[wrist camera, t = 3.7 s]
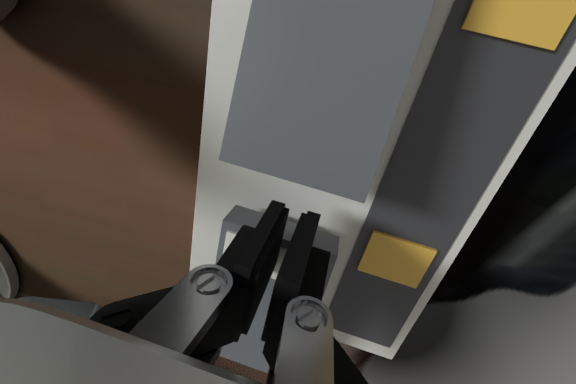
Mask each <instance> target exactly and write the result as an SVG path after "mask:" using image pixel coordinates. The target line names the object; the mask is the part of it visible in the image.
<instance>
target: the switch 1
mask: <svg viewBox="0 0 576 384" xmlns="http://www.w3.org/2000/svg"><path fill="white" fill-rule="evenodd" d="M434 1H435V0H252V3H251V8H250V13H249V18H248V22H247V27H246V32H245V37H244V41H243V46H242V51H241V56H240V60H239V65H238V70H237V75H236V79H235V84H234V89H233V94H232V99H231V103H230V108H229V113H228V118H227V122H226V127H225V132H224V137H223V141H222V146H221V151H220V156H219V160H220V161H223V162H227V163H230V164H233V165H237V166H240V167H243V168H247V169H250V170H254V171H257V172H260V173H264V174H267V175H270V176H274V177H277V178H280V179H284V180H287V181H290V182H294V183H297V184H301V185H304V186H307V187H311V188H314V189H317V190H321V191H324V192H327V193H331V194H334V195H338V196H341V197H344V198H348V199H351V200H354V201H358V202H361V203H364V204H365V201H366V198H367V195H368V192H369V189H370V186H371V183H372V181H373V178H374V175H375V172H376V169H377V166H378V163H379V160H380V157H381V154H382V152H383V149H384V146H385V143H386V140H387V137H388V134H389V131H390V128H391V126H392V123H393V120H394V117H395V114H396V111H397V108H398V105H399V102H400V100H401V97H402V94H403V91H404V88H405V85H406V82H407V79H408V76H409V74H410V71H411V68H412V65H413V62H414V59H415V56H416V53H417V50H418V48H419V45H420V42H421V39H422V36H423V33H424V30H425V27H426V24H427V21H428V19H429V16H430V13H431V10H432V7H433V4H434Z"/></svg>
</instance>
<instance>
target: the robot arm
mask: <svg viewBox="0 0 576 384" xmlns="http://www.w3.org/2000/svg"><path fill="white" fill-rule="evenodd" d="M285 205H286V204H285V203H282V202H278V201H275V200H272V201H271V203H270V204H269V206H268V208H267V209H266V211H265V213H264V214H263V216H262V218H261V219H260V221H259V223H258V224H257V226H256V228H254V227H251V226H248V225H243V226H242V227H241V228H240V230H239V231H238V233H237V234H236V236H235V237H234V239H233V240H232V242H231V243H230V244H229V246H228V247H227V249H226V250H225V252H224V253H223V255H222V256H221V258H220V259H219V261H218V262H217V264H205V265H200V266H198V267H195V268H194V269H192V270H191V271H190V272H189V273H188V274H187V275H186V276H185V277H184V278H183V279H182V280H181V281H180V282H179V283H178V284H177V285H176V286H173V287H169V288H166V289H162V290H158V291H154V292H151V293H147V294H143V295H139V296H135V297H132V298H128V299H124V300H120V301H116V302H113V303H110V304H108V305H105V306H104V307H97V303H90V302H80V301H71V300H61V299H52V298H42V297H21V298H17V299H13V298H14V297H15V296H16V294H17V293H18V289H19V277H18V273H17V270H16V267H15V265H14V263H13V261H12V259H11V257H10V255H9V254H8V252H7V251H6V249H5V248H4V247H3V245H2V244H1V243H0V384H261V383H258V382H256V381H253V380H250V379H248V378H245V377H242V376H240V375H237V374H235V373H232V372H229V371H227V370H224V369H221V368H219V367H216V366H213V365H214V363H215V361H216V360H217V358H218V357H219V355H220V353H221V351H222V349H223V346H225V345H228V344H230V343H233V342H238V340H239V338H240V336H241V333H242V334H244V335H247V333H248V331H249V329H250V326H251V324H252V321H253V319H254V317H255V314H256V312H257V309H258V307H259V305H260V302H261V300H262V297H263V295H264V293H265V290H266V288H267V285H268V283H269V280H270V278H271V276H272V273H273V271H274V268H275V266H276V263H277V259H278V255H279V251H280V247H281V243H282V239H283V235H284V231H285V226H286V222H287V218H288V214H289V208H286V207H285ZM320 216H321V214H318V213H314V212H311V211H308V212H307V214H305V213H301V216H300V218H299V221H298V223H297V226H296V228H295V231H294V233H293V236H292V238H291V241H290V243H289V246H288V249H287V251H286V254H285V256H284V259H283V261H282V264H281V266H280V269H279V271H278V274H277V277H276V281H275V284H274V288H273V292H272V296H271V300H270V304H269V308H268V312H267V316H266V320H265V324H264V328H263V332H262V336H261V341H264V342H265V344H264V348H263V352H262V353H263V355H264V357H265V359H266V361H267V363H268V365H269V369H268V374H267V379H266V384H368V383H367V381H366V380H365V378H364V377H363V376H362V374H361V373H360V371H359V370H358V369H357V367H356V366H355V365H354V363H353V362H352V361H351V359H350V358H349V356H348V355H347V354H346V352H345V351H344V350H343V348H342V347H341V345H340V344H339V343H338V341H337V340H336V339H335V337H334V336H333V317H332V313H331V311H330V310H329V308H328V307H327V306H326V305H325V304H324V303H323V302H322V297H323V292H324V287H325V281H326V276H327V271H328V265H329V260H330V254H331V252H330V251H326V250H323V249H320V248H317V247H314V246H312V245H313V241H314V238H315V234H316V231H317V227H318V224H319V220H320Z"/></svg>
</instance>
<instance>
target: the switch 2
mask: <svg viewBox="0 0 576 384" xmlns="http://www.w3.org/2000/svg"><path fill="white" fill-rule="evenodd" d="M263 214H264V213H262V212H258V211H255V210H252V209H249V208H245V207H242V206H239V205H235V206H234V207H233V209H232V210H231V211H230V212H229V213H228V214H227V215H226V217H225V218H224V219H223V221H222V227H221V233H220V239H219V244H218V250H217V256H216V262H215V264H217V262H218V261H219V259H220V258H221V256H222V255H223V253H224V252H225V250H226V249H227V247H228V246H229V244H230V243H231V242H232V240H233V239H234V237H235V236H236V234H237V233H238V231H239V230H240V228H241V227H242V226H243V225H248V226H251V227H254V228H256V226H257V224H258V223H259V221H260V219H261V218H262V216H263ZM296 226H297V223H294V222H291V221H287V222H286V226H285V231H284V235H283V239H282V243H281V247H280V251H279V255H278V259H277V263H276V266H275V268H274V271H273V273H272V276H271V278H270V280H269V283H268V285H267V288H266V290H265V293H264V295H263V297H262V300H261V302H260V305H259V307H258V309H257V312H256V314H255V317H254V319H253V321H252V324H251V326H250V329H249V331H248V333H247V335H244V334H242V333H241V336H240V338H239V340H238V342H233V343H230V344H228V345H225V346H223V349H222V351H221V353H220V355H219V356H221V357H224V358H227V359H229V360H232V361H235V362H238V363H241V364H243V365H246V366H249V367H252V368H255V369H257V370H260V371H263V372H266V373H268V369H269V365H268V363H267V361H266V359H265V357H264V355H263V353H262V352H263V348H264V344H265V342H264V341H261V336H262V332H263V328H264V324H265V320H266V316H267V312H268V308H269V304H270V300H271V296H272V292H273V288H274V284H275V281H276V277H277V274H278V271H279V269H280V266H281V264H282V261H283V259H284V256H285V254H286V251H287V249H288V246H289V243H290V241H291V238H292V236H293V233H294V231H295V228H296ZM312 246H314V247H317V248H320V249H323V250H326V251H330V252H331V254H330V260H329V265H328V271H327V276H326V281H325V287H324V292H325V290H326V287H327V284H328V282H329V279H330V276H331V273H332V271H333V268H334V265H335V262H336V260H337V257H338V248H339V236H336V235H333V234H329V233H326V232H323V231H320V230H317V231H316V234H315V238H314V241H313V245H312ZM324 292H323V295H324ZM322 298H323V297H322Z"/></svg>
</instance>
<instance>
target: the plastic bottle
mask: <svg viewBox="0 0 576 384" xmlns="http://www.w3.org/2000/svg"><path fill="white" fill-rule="evenodd" d="M18 1H19V0H0V21H2V20H3V19H4V18H5V17H6V16H7V15H8V14H9V13H10V12H11V11H12V10H13V9H14V8H15V6H16V4H17V3H18Z"/></svg>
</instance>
